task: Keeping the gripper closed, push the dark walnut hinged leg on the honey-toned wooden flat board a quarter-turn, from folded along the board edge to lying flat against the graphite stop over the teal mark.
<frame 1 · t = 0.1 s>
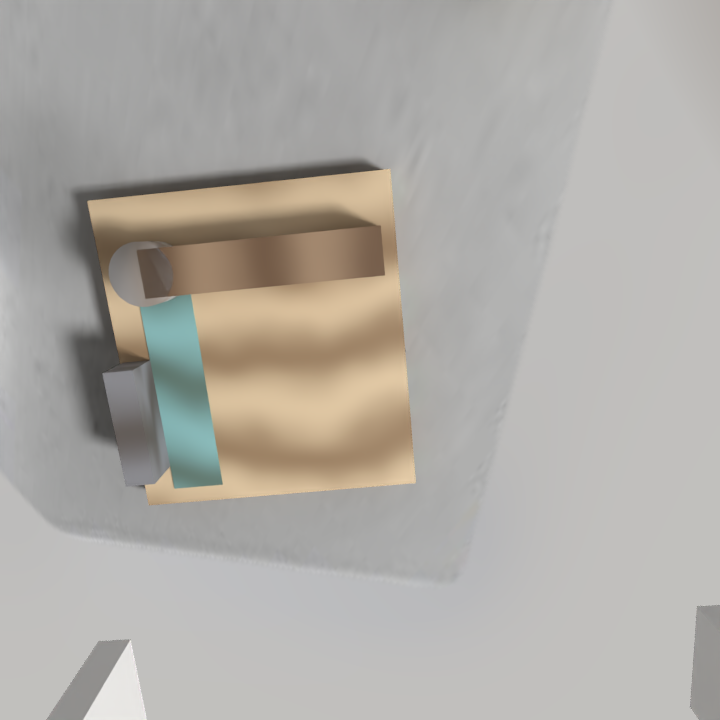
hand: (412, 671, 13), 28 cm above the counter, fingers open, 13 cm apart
wooden flat board: (265, 344, 39), on the counter
hinged leg: (250, 263, 34), point 4 cm above the counter, hinge at 90.0°
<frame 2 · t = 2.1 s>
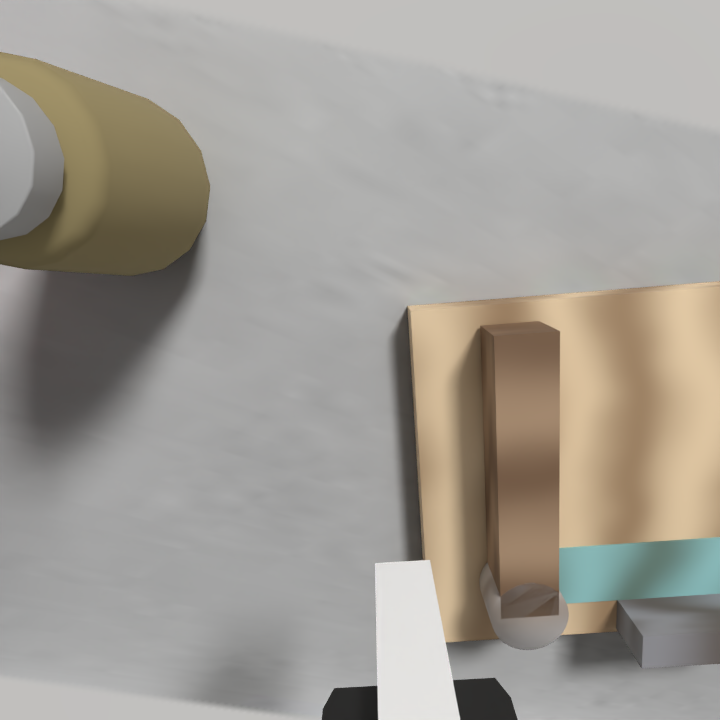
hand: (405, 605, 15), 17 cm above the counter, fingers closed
wooden flat board: (605, 460, 31), on the counter
hinged leg: (520, 489, 28), point 4 cm above the counter, hinge at 90.0°
squeeze bottle: (154, 193, 28), on the counter
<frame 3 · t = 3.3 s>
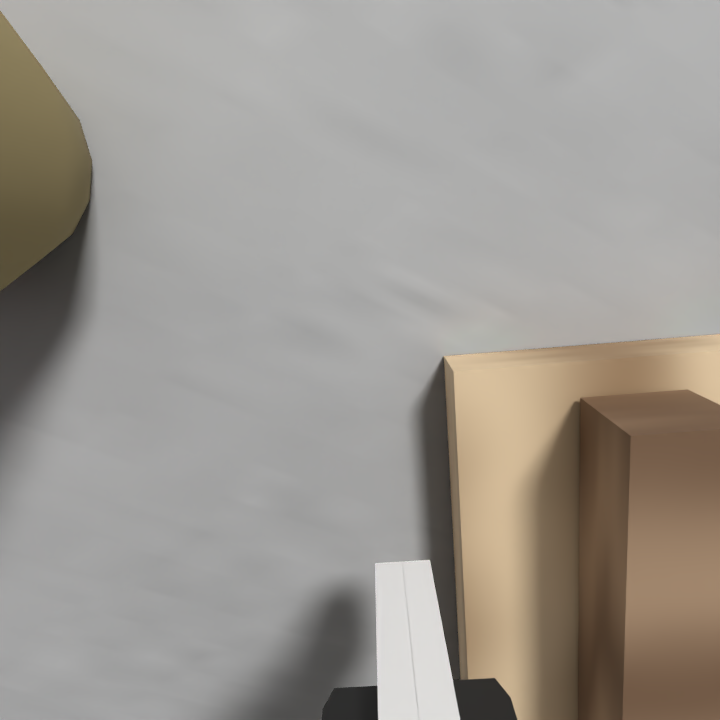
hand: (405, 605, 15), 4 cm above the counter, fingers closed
hinged leg: (650, 688, 16), point 4 cm above the counter, hinge at 90.0°
squeeze bottle: (2, 164, 16), on the counter
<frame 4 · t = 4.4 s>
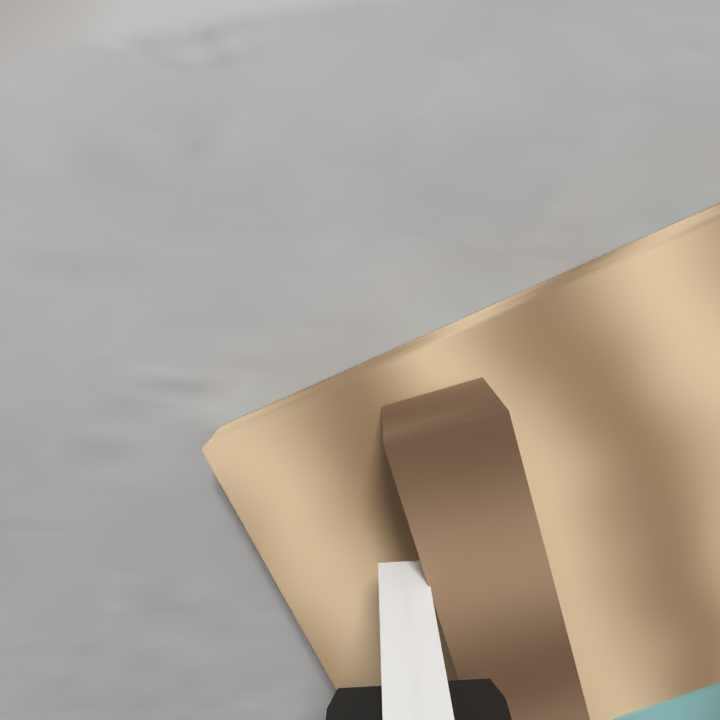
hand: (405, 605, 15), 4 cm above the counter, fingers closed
wooden flat board: (630, 549, 19), on the counter
hinged leg: (515, 674, 16), point 4 cm above the counter, hinge at 82.3°, touching gripper
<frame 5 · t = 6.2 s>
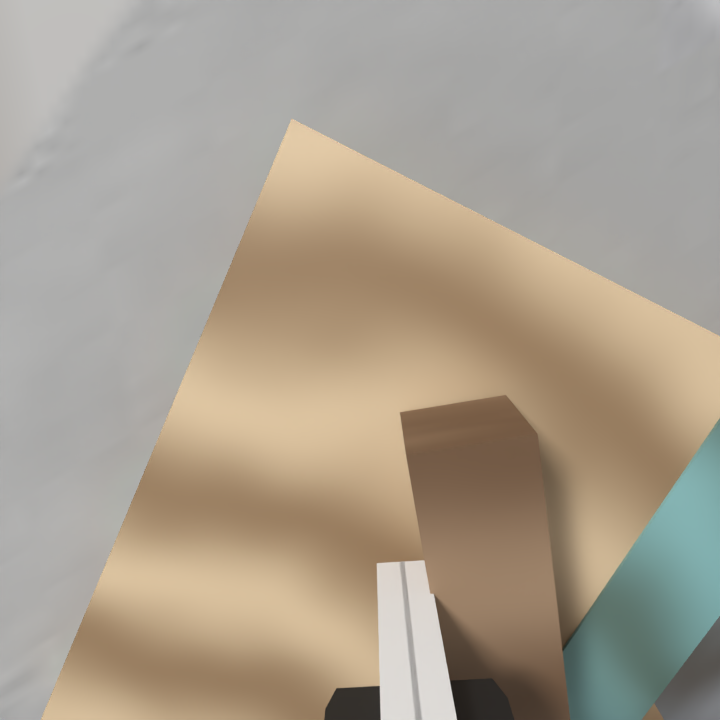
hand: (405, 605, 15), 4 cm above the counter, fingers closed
wooden flat board: (432, 567, 19), on the counter
hinged leg: (501, 695, 16), point 4 cm above the counter, hinge at 36.0°, touching gripper
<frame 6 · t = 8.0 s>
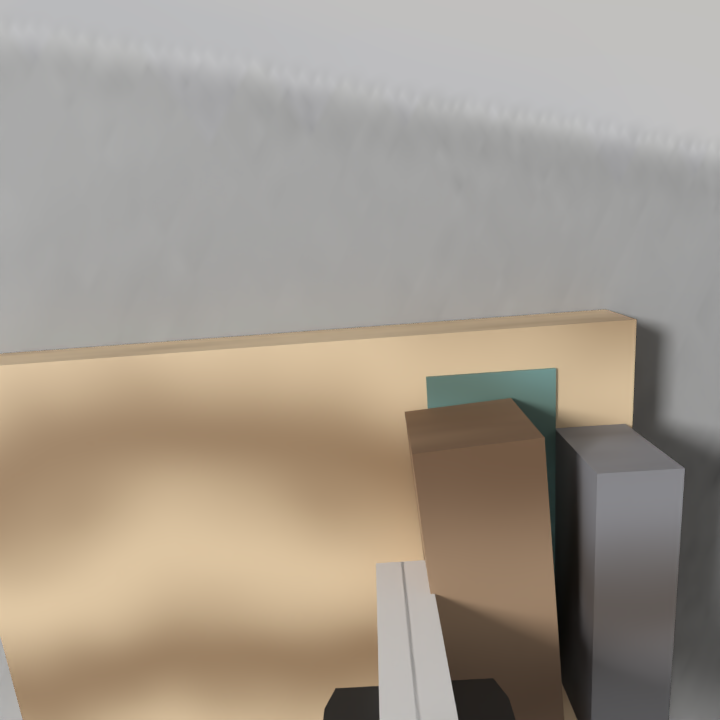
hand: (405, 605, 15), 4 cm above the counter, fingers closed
wooden flat board: (318, 630, 19), on the counter
hinged leg: (495, 698, 16), point 4 cm above the counter, hinge at 3.7°, touching gripper
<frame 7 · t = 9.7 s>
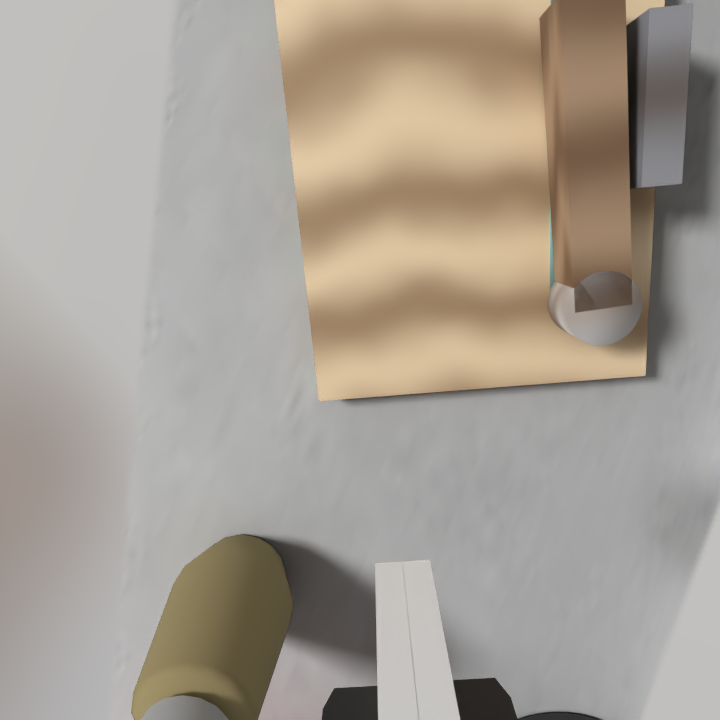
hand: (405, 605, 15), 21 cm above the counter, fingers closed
wooden flat board: (468, 203, 32), on the counter
hinged leg: (587, 183, 28), point 4 cm above the counter, hinge at 3.6°
squeeze bottle: (245, 566, 39), on the counter
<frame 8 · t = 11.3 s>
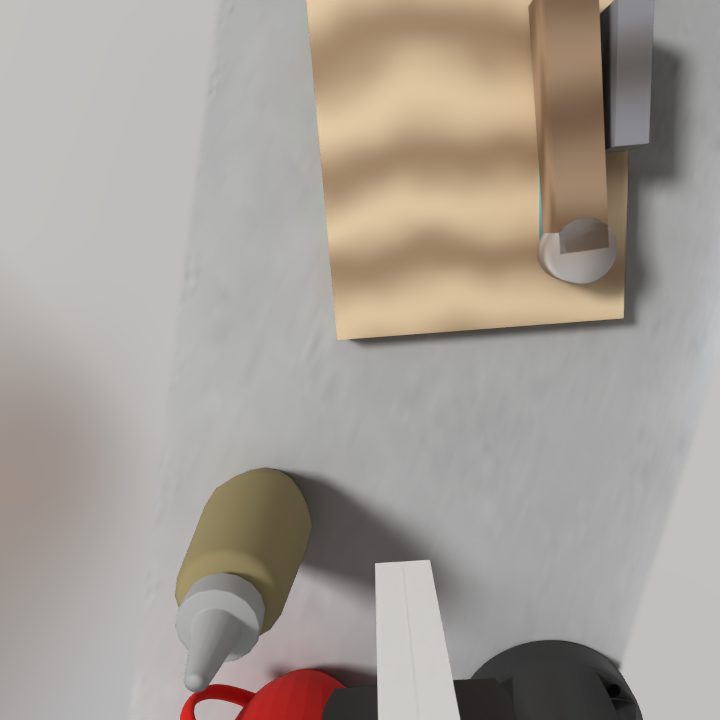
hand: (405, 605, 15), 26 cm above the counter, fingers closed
wooden flat board: (468, 167, 37), on the counter
hinged leg: (569, 144, 33), point 4 cm above the counter, hinge at 3.6°
squeeze bottle: (266, 499, 43), on the counter
ceramic cup: (291, 686, 47), on the counter
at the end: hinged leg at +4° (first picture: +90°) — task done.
